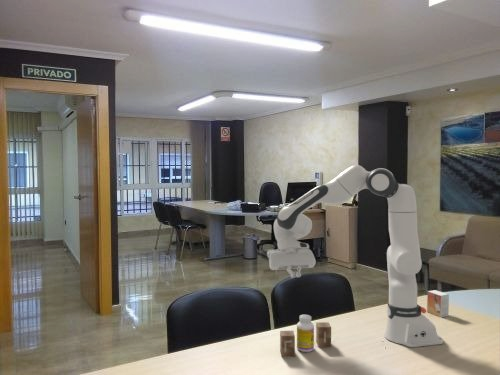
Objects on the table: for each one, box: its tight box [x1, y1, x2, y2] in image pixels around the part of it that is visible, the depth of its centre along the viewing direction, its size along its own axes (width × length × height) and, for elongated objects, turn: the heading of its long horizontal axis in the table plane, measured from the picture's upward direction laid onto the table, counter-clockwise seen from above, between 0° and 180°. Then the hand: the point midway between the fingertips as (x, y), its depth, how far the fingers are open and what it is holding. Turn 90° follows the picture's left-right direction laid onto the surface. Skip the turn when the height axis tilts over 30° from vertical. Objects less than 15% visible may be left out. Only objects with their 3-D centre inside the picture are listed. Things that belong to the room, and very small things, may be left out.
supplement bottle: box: [296, 314, 315, 353], centre depth 159 cm, size 7×7×13 cm
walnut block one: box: [315, 321, 332, 348], centre depth 163 cm, size 5×5×8 cm
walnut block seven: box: [279, 330, 296, 358], centre depth 155 cm, size 5×5×8 cm
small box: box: [426, 289, 450, 318], centre depth 196 cm, size 8×6×10 cm
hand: (296, 276), depth 170 cm, fingers closed
